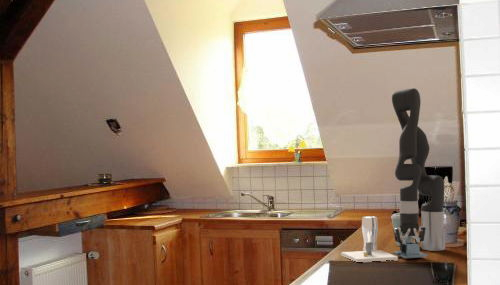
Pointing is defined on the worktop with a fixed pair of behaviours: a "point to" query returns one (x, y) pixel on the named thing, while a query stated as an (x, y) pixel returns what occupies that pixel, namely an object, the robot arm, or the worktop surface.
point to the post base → (369, 255)
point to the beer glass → (369, 231)
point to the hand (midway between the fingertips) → (409, 252)
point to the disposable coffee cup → (397, 224)
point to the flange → (411, 251)
